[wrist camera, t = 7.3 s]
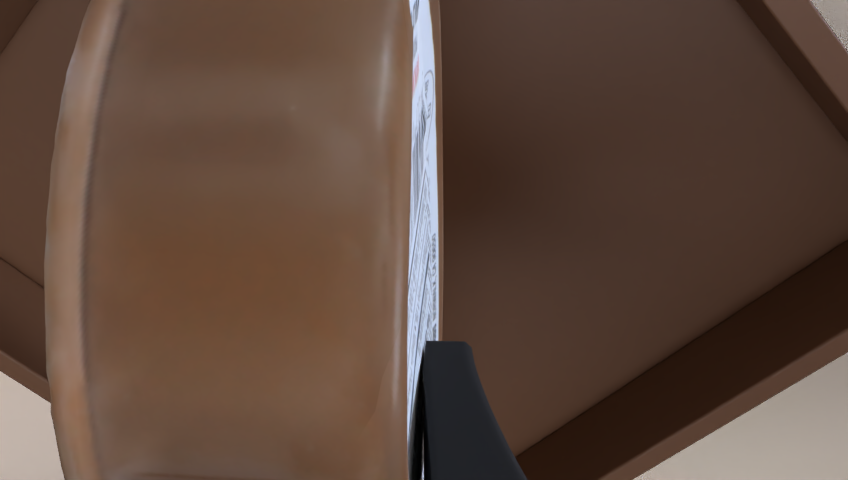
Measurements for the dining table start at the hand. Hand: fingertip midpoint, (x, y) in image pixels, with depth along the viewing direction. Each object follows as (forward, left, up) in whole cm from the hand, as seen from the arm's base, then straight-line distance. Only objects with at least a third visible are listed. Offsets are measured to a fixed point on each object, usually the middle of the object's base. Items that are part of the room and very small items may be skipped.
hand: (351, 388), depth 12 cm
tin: (0, 0, -3) cm, 3 cm away
